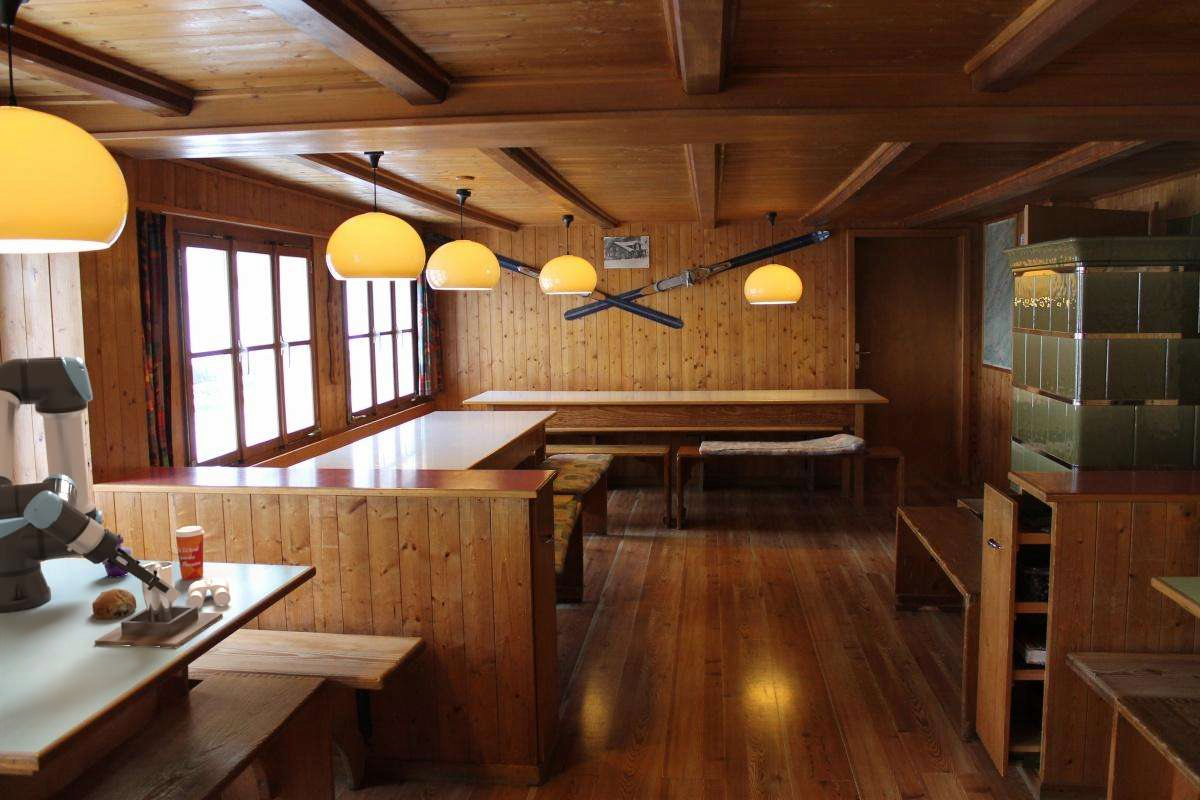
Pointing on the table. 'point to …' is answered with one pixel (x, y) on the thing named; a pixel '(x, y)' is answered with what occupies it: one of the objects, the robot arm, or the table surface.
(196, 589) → the binoculars
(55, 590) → the table surface
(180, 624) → the holder board
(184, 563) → the paper cup
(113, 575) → the potion bottle
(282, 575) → the table surface
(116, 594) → the bread roll
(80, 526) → the robot arm
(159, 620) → the beer glass
